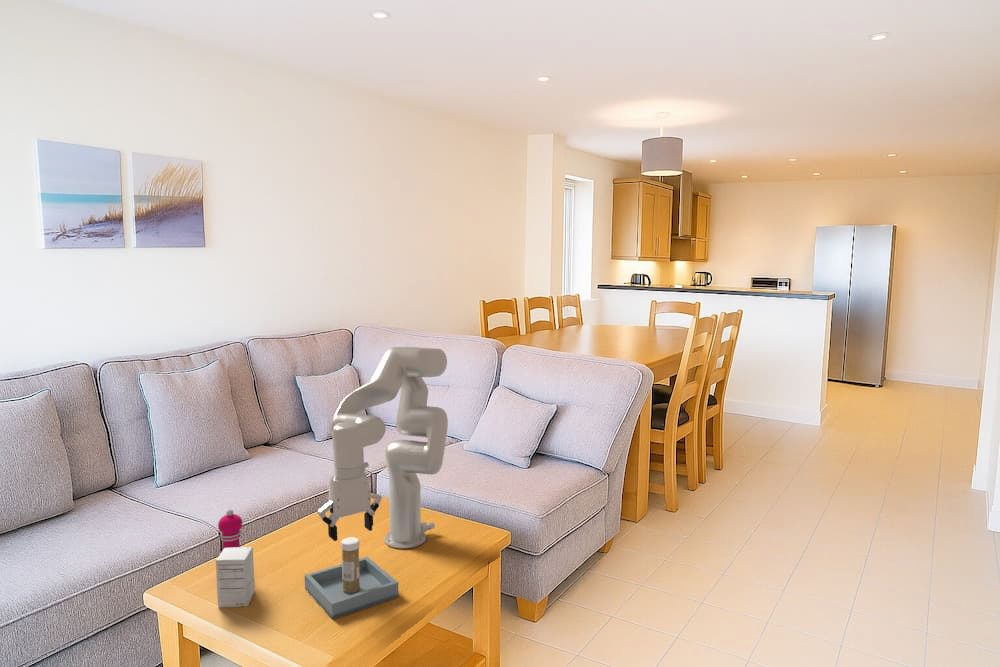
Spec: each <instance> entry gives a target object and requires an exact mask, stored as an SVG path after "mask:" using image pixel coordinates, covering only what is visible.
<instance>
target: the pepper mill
mask: <svg viewBox="0 0 1000 667" xmlns="http://www.w3.org/2000/svg"><path fill="white" fill-rule="evenodd" d="M225 513H226V514H224V515H223V516H221V518H220V519H219V521H218V524H217V527H218V531H219V532H220V540H221V541H222V550H221V552H222V551H223V549H224V548H232V547H241V545H240V538H241V537H242V533H241V529H242V527H243V520H242V517H241V516H240V515H239V514H235V513H234V510H233V509H231V508H230V509H227V510H226V512H225Z"/></svg>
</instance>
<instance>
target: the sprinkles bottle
mask: <svg viewBox="0 0 1000 667" xmlns="http://www.w3.org/2000/svg"><path fill="white" fill-rule="evenodd" d="M340 542H341V546H340V547H341V550H342V552H341V554H342V556H341V559H342V560H341V562H342V563H341V564H342V578H343V591H344V592H346V593H354V592H356V591H358V590H359V589H360V584H359V576H360V574H359V559H360V555H359V554H360V539H359V538H358V537H356V536H355V537H354V536H353V537H352V536H349V537H345V538H343V539H342V540H341V541H340Z"/></svg>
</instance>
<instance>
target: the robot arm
mask: <svg viewBox="0 0 1000 667" xmlns="http://www.w3.org/2000/svg"><path fill="white" fill-rule="evenodd" d="M447 357H448V356H447V355H446V353H445V351H444V350H443V349H442V348H441V349H440V348H434V347H433V348H432V347H417V346H393V347H390V348H388V349H387V350H386V351H385V352H384V353H383V355H382V358H380V361H379V363H378V365H377V367H376V369H375V371H374V373H373V374H372V376H371V379H370V380H369V381H368V382H367V383H364V384H363V385H361V386H360V387H358V388H357V389H355V390H354V391H352V392H350V393H349V394H348V395H347V396H345V397H344V398H343V400H342V401H341V402H340V404H339V406H338V407H337V409H336V411H335V413H334V415H333V417H332V419H331V423H330V431H329V432H330V434H331V436H332V456H333V458H332V459H333V476H331V477H330V480H329V486H328V487H329V488H328V502H327V503H325V504H324V505H323V506H321V508H319V509H318V510H317V512H316V513H317V515H318V516H319V518H320V519H321V521H322V522H324V523H325V524H327V531H328V532H327V533H328V537H329V538H330V539H331V540H333V541H334V542H336V541H338V526H337V525H336V524H337V522H338V521H339V519H340V518H341V519H342V518H345V517H348V516H349V517H350V516H353V515H356V514H359V513H363V512H364V515H363V516H364V517H363V518H364V528H365V529H367V531H368V532H371V531H373V526H374V516H375V514H376V511H377V510H378V508H379V507H380V503H381V502H382V501H381V500H382V498H383V497H382V496H381V495H380V494H378V493H374V492H371V488H370V483H369V478H368V475H367V473H366V468H369V462H365V461H364V460H365V457H364V456H365V455H364V453H365V452H364V448H365V447H369V446H373V445H375V444H377V443H379V442H380V441H381V440H382V439H383V438H384V436H385V433H386V423H385V421H384V420H383V419H382V418H381V417H379V416H377V415H370V414H361V412H362V411H364V410H366V409H369V408H373V407H376V406H379V405H382V404H385V403H389V402H391V401H393V400H394V399H396V397H397V395H398V393H399V391H400V395H399V402H398V408H397V414H396V421H395V426H396V431H397V432H398V433H399V435H404V436H408V437H416V438H427V441H419V440H418V441H417V440H410V439H397V440H393V441H391V442H390V443H388V446H386V449H385V463H386V468H387V471H388V472H387V473H388V490H389V491H388V492H389V493H388V496H389V497H388V499H389V505H388V506H389V507H388V508H389V509H388V510H389V511H388V512H389V532H388V533H386V534H385V536H384V543H385V544H386V545H387V546H389V547H390V548H391V547H392V548H394V549H403V550H404V549H412V548H417V547H418V546H421V545H422V544H424V543H425V542H426V539H427V535H426V532H427V531H429V530H433V529H435V528H436V526H435V523H434V522H428V523H427V522H426V521H423V522H422V520H421V519H422V516H421V514H422V512H421V511H422V510H421V507H422V506H421V505H422V503H421V502H422V500H421V499H422V497H421V491H422V490H421V489H422V488H421V487H422V486H421V482H420V479H419V477H418V475H417V474H420V475H431V476H432V475H437V474H438V473H439V472H440V470H441V468H442V465H443V462H444V454H445V450H446V440H447V434H448V427H449V426H448V424H449V422H448V421H449V418H448V414H447V412H446V410H444V409H443V408H441V407H437V406H429V405H428V399H429V398H428V397H429V388H428V386H427V383H426V382H425V380H424V378H437V377H440V376H442V375H443V374H444V373H445V371H446V369H447V366H448V359H447ZM372 499H373V502H372ZM327 512H329V513H330V514H329V516H327V515H326V514H327Z"/></svg>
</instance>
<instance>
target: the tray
mask: <svg viewBox="0 0 1000 667" xmlns="http://www.w3.org/2000/svg"><path fill="white" fill-rule="evenodd" d="M359 574H360V576H359V584H360V589H359V590H358V591H356V592H354V593H346V592H344V591H343V578H342V563H341V564H338V565H334V566H331V567H328V568H324V569H320V570H316V571H314V572H310V573H306V574H304V590H305V589H306V590H307V591H308V592H307V591H306V590H305V591H306V592H307V593H308V595H309V596H312V597H313V598H314V599H315V600H316V601H315V600H314V599H313V598H312V597H311V598H312V599H313V600H314V601H315V602H316V604H318V605H319V606H321V607H322V608H323V609H324V610H325V611H324V610H323V609H322V608H321V609H322V610H323V611H324V612H325V613H326V615H327V616H328V617H329V618H330V619H331V620H335V619H338V618H341V616H342V617H344V615H345V616H346V615H347V616H348V615H350V614H353V613H356V612H358V611H362V610H365V609H368V608H371V607H374V606H377V605H380V604H383V603H385V602H388V601H391V600H394V599H395V600H396V599H398V598H399V582H398V580H396V578H394V577H392V576H391V575H390V574H389V573H387V571H385V570H384V569H383V568H382V567H381V566H379V565H378V564H377V563H376V562H374V561H373V560H372V559H371V558H370V557H369V556H365V557H362V558H359Z"/></svg>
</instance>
